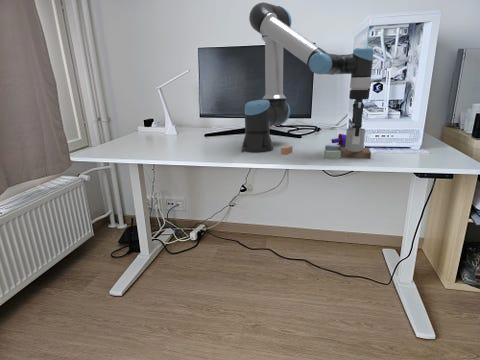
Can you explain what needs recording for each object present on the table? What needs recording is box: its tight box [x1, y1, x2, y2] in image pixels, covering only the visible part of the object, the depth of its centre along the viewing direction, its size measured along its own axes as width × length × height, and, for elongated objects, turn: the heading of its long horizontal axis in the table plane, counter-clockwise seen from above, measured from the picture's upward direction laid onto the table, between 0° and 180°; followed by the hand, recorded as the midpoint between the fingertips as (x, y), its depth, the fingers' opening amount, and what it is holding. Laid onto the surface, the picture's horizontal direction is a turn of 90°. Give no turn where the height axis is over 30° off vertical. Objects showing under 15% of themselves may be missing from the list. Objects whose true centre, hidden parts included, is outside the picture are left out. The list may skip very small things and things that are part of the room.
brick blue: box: [324, 144, 341, 152], centre depth 142 cm, size 6×3×3 cm, turn 59°
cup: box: [344, 127, 366, 152], centre depth 132 cm, size 7×10×9 cm
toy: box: [331, 133, 346, 147], centre depth 153 cm, size 11×8×15 cm
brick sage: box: [323, 150, 342, 160], centre depth 131 cm, size 6×3×3 cm, turn 89°
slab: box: [340, 146, 372, 160], centre depth 134 cm, size 12×10×2 cm
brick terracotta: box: [280, 145, 293, 156], centre depth 142 cm, size 6×3×3 cm, turn 149°
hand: (354, 141), depth 133 cm, fingers open, 13 cm apart
